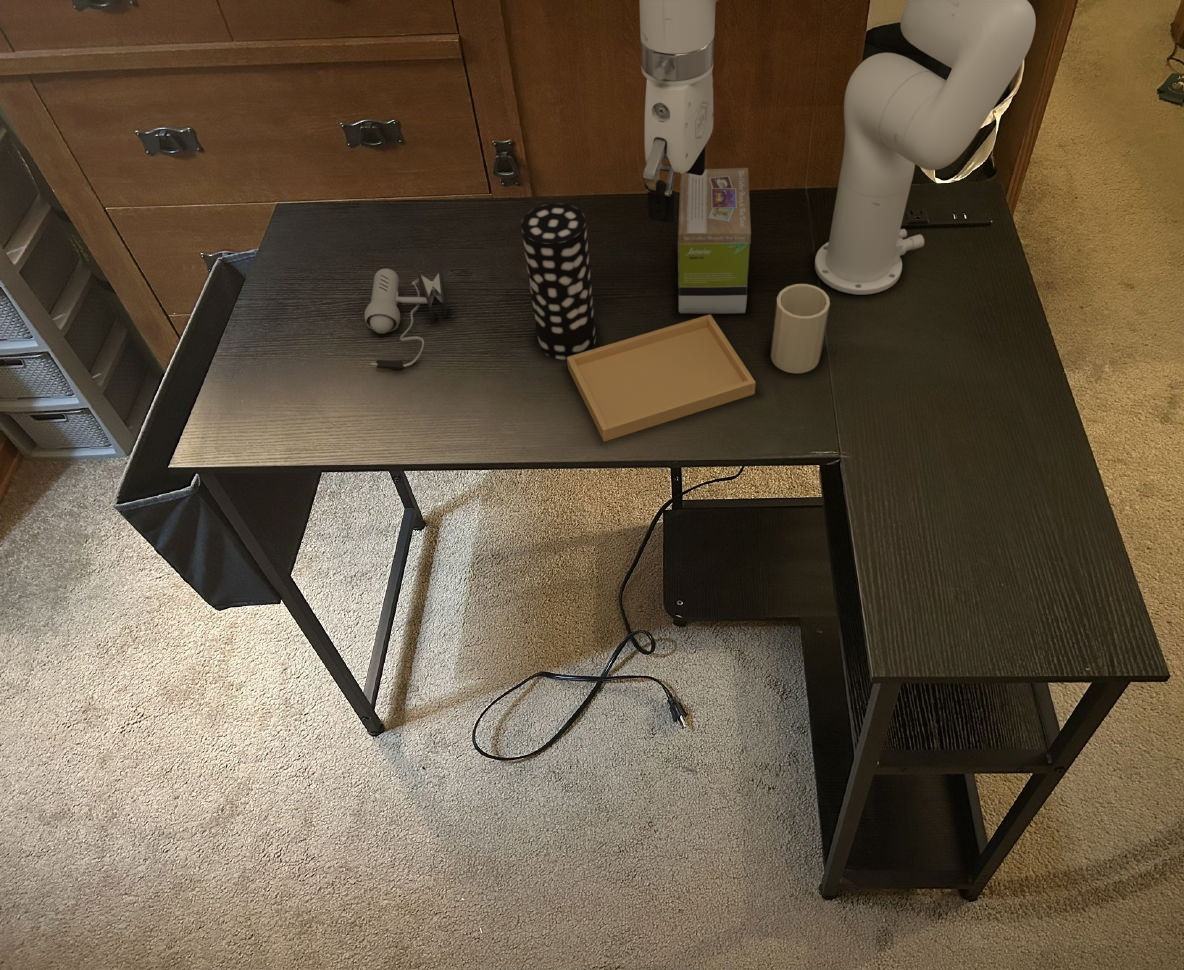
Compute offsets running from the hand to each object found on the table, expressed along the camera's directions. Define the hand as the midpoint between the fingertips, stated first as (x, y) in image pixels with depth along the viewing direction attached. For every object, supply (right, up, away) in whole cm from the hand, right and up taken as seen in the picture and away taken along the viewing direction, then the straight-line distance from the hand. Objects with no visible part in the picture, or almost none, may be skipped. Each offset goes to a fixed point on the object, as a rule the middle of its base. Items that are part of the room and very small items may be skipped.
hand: (677, 195), depth 109 cm
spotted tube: (-14, -13, +24) cm, 31 cm away
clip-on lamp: (-37, -12, +27) cm, 47 cm away
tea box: (+8, -4, +29) cm, 31 cm away
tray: (-1, -20, +17) cm, 27 cm away
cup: (+18, -16, +19) cm, 31 cm away
